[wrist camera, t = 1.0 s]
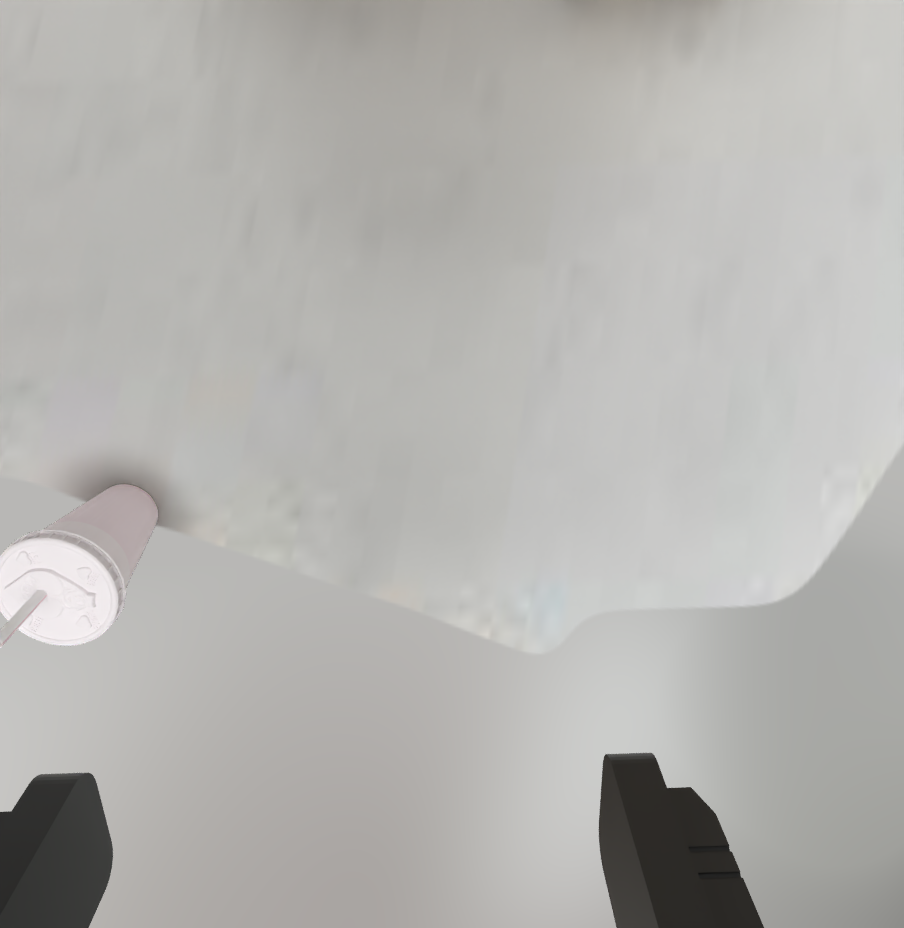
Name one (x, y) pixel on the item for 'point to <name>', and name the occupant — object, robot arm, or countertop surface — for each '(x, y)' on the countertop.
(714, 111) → the countertop surface
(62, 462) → the countertop surface
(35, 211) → the countertop surface
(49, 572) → the smoothie
